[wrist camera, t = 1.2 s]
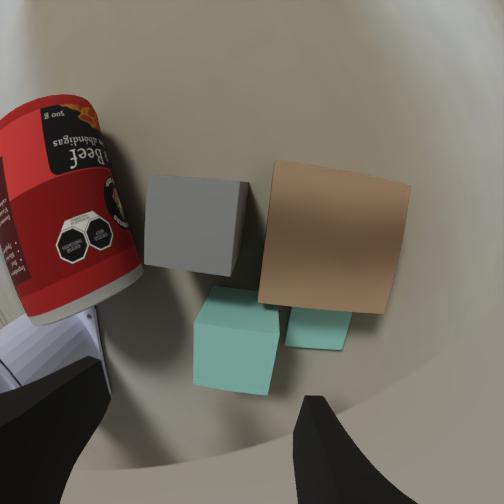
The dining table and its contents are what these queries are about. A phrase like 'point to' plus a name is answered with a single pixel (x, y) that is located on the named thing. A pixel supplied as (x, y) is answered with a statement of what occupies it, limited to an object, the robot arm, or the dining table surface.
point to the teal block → (235, 341)
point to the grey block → (194, 223)
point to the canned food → (61, 210)
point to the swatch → (317, 328)
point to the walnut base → (331, 239)
